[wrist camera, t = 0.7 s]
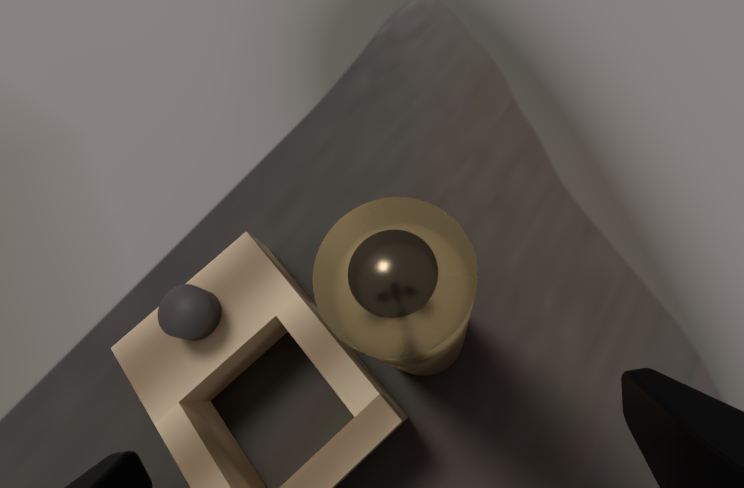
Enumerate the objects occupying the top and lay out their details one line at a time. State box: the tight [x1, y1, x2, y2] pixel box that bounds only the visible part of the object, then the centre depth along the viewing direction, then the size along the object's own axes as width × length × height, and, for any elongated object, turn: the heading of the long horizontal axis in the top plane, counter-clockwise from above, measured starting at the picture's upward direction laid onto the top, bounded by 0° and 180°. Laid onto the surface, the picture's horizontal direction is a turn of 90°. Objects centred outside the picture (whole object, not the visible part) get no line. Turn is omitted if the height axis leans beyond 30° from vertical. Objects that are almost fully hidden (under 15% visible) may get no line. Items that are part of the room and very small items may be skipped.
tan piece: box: [313, 197, 478, 376], centre depth 17 cm, size 4×4×12 cm
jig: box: [111, 231, 408, 488], centre depth 22 cm, size 12×9×4 cm
